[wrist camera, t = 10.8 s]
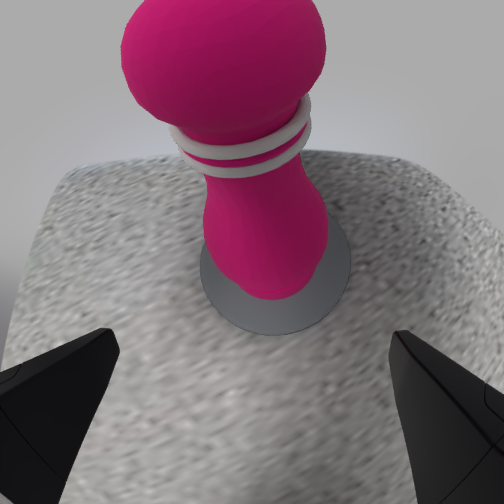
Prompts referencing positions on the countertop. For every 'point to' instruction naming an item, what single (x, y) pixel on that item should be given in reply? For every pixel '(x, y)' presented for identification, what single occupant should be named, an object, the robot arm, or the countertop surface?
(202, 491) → the countertop surface
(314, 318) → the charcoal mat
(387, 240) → the countertop surface
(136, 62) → the pepper mill
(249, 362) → the countertop surface
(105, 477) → the countertop surface
